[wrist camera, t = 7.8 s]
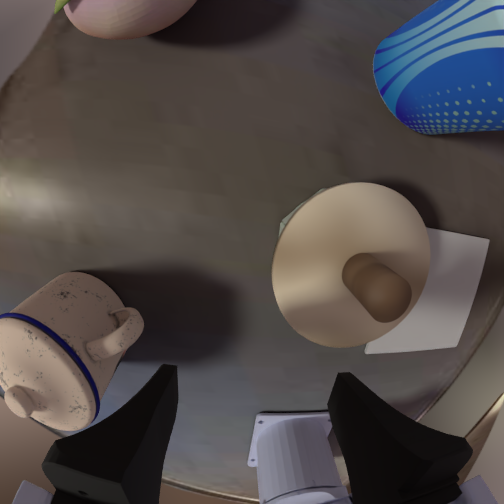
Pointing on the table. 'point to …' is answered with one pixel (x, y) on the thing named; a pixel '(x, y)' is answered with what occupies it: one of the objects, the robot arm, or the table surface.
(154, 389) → the robot arm
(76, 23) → the decorative fruit
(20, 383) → the teacup with lid
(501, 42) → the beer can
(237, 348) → the table surface
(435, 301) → the mat
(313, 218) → the lid
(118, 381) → the table surface
